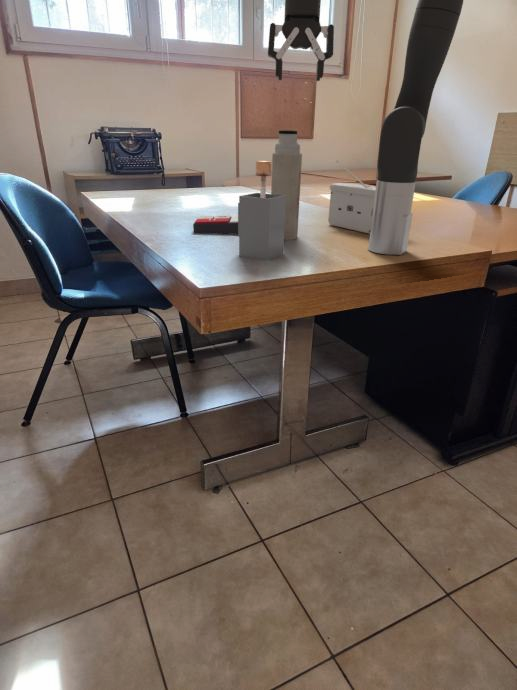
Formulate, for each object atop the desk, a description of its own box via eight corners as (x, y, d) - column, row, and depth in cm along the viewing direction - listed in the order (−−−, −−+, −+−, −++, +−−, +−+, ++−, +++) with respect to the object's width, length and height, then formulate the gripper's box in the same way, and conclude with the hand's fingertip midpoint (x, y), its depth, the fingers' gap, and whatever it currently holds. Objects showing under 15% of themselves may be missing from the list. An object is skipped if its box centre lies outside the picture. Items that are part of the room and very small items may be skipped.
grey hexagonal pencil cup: (283, 253, 113) (285, 195, 107) (267, 260, 107) (269, 199, 101) (248, 248, 118) (248, 192, 112) (231, 254, 111) (231, 195, 105)
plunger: (278, 247, 112) (281, 161, 103) (266, 252, 107) (269, 162, 99) (257, 244, 115) (258, 160, 106) (244, 249, 110) (245, 161, 101)
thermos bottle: (298, 234, 134) (305, 130, 122) (295, 240, 127) (301, 130, 115) (272, 233, 135) (275, 129, 123) (267, 238, 128) (270, 129, 116)
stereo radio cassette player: (391, 233, 139) (401, 163, 130) (374, 236, 134) (383, 164, 126) (341, 223, 154) (347, 159, 145) (324, 225, 149) (329, 160, 141)
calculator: (197, 215, 142) (245, 213, 142) (199, 229, 144) (246, 227, 143) (192, 221, 132) (243, 220, 132) (193, 236, 134) (244, 235, 134)
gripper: (334, -3, 98) (327, 82, 105) (269, -5, 98) (266, 81, 105) (340, -13, 92) (332, 79, 99) (270, -15, 91) (267, 77, 98)
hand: (298, 80), depth 102 cm, fingers open, 8 cm apart
